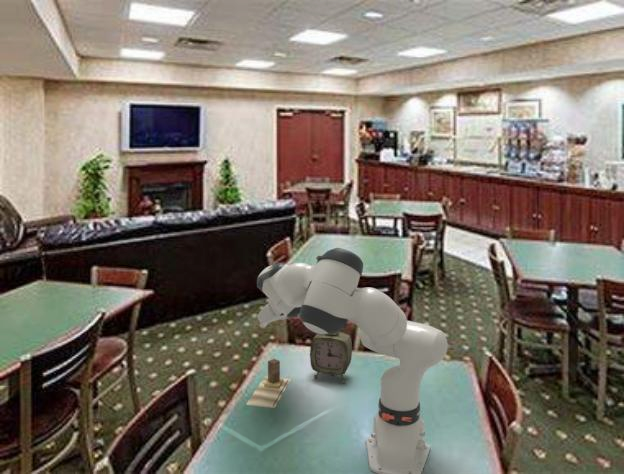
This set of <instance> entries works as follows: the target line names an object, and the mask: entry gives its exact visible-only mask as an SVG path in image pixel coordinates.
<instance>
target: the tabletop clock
mask: <svg viewBox="0 0 624 474" xmlns="http://www.w3.org/2000/svg"><path fill="white" fill-rule="evenodd" d="M352 357H353V343H352V337H351V336H350V334H347V333H345V332H341V331H338V332H336V333H334V334H330V335H328V334H318V333H315V335H314V337H313V338H312V340H311V344H310V351H309V359H310V366H311V369H312V370H313V371H314V372H316V374H314V375H313V379H314V380H317V379H318V378H319V374H323V375H329V376H331V377H333V376H340V378H341V380H340V381H341V383H342V384H345V383H346V379H345V378H344V375H345V374H346V373H347V370H348V368H349V367H350V365H351V363H352Z"/></svg>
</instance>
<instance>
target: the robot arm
mask: <svg viewBox="0 0 624 474" xmlns="http://www.w3.org/2000/svg"><path fill="white" fill-rule="evenodd" d="M363 271H364V262H363V260H362V258H361V257H360V256H359V255H357V254H356V253H355V252H354V251H352V250H349V249H347V248H341V247H335V248H332V249H329V250H327V251H326V252H325V253H324V254H322V255H317V256H316V263H315V264H313V265H312V264H311V265H310V264H308V263H305V262H295V263H291V264H286V263H284V262H281V261H280V262H278V263H277V262H276V264H275V263H274V264H272V265H269V266H267V267H265V268H264V269H263V270H262V271H261V272H260V273H259V275H258V276H257V278H256V288H257V289H259V290H260V291H261V292H262V293H263V294H265V296H266V297H267V298H268V303H267V304H266V305H265V306H264V307H262V309H261V310H260V311H259V313H258V314H257V316H256V317H257V320H258V321H259V323H260V326H261V327H262V328H263V327H266V326H267V325H269V324H270V323H273V322H275V321H278V320H281V321H284V320H286V319H287V318H291V319H292V318H294V319H296V318H299V320H300V321H301V322H300V323H301V324H303V325H304V326H305V327H306V328H307V329H308V330H309V331H311V332H313V333H315V334H317V333H318V334H328V335H330V334H334V333H336V332H338V331H339V332H341V330H343V329H345V330H347V329H348V328H349V326H350V325H349V324H348V322H351V323H353V324H354V325H356V326H357V327H358V329H359V338H360V342H361V344H362V346H363V347H365V348H367V349H369V350H371V351H373V352H375V353H377V354H381V355H385V356H389V357H392V358H396V359H399V364H398V365H395V366H392V367H389V368H388V369H386V370H385V371H384V372H383V373H382V376H381V378H380V379H381V381H380V398H379V400H378V405H377V406H378V412H377V413H376V414H375V415H374V416H373V423H372V426H373V427H372V433H371V435H370V436H367V437H366V439H365V446H366V453H367V460H368V465H369V470H370V471H372V472H373V473H376V474H421V473H422V474H423V471H424V469H423V468H425V465H426V462H427V459H428V457H429V454H430V452H431V445H429V443H427V442H425V439H424V438H425V435H426V431H425V421H424V420H423V419H422V418H421V403H420V390H421V383H422V380H423V377H424V375H425V374H426V372H427V371H428V370H429V369H430V368H431V367H434V366H436V365H437V364H440V363H441V362H442V361H443V360H444V358H445V357H446V354H447V352H448V340H447V336H446V334H445V333H444V332H443V330H441V329H438V328H436V327H434V326H431V325H428V324H425V323H421V322H415V321H412V320H407V316H406V314H405V312H404V311H403V310H402V309H401V308H400V306H399V305H398V304H397V303H396V302H395V301H394V300H393V299H392V298H391V297H390V296H389V295H387V294H385V293H384V292H383V291H381V290H379V289H377V288H376V287H375V288H374V287H369V286H368V287H361V288H360V289H358V290H357V288H358V285H359V281H360V277H362V275H363Z"/></svg>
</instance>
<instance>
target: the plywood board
mask: <svg viewBox="0 0 624 474" xmlns="http://www.w3.org/2000/svg"><path fill="white" fill-rule="evenodd" d="M282 378H283V383H282V385H281V386H280V388H270V387H264V383H265V382H266V380H267V379H268V375H266V376H264V377H263V378H262V380H261V382H260V383H259V384H258V386H257V388H256V389H255V390H254V392H253V393H252V395H251V397H250V398H249V399H248V400H247V402H246V404H245V405H246V406H252V407H253V406H254V407H261V408H267V409H269V408H271V409H275V408H276V406H277V405H278V403H279V401H280V399H281V398H282V396H283V394H284V392H285V390H286V388H288V387H287V386H288V385H289V383H290V381H291V380H292V379H291V378H285V377H282Z"/></svg>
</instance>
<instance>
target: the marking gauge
mask: <svg viewBox="0 0 624 474" xmlns="http://www.w3.org/2000/svg"><path fill="white" fill-rule="evenodd" d="M280 363H281V360H278V359H276V358H272V359H270V360H267V377H268V379H267V380H266V382H265V383H264V387H270V388H280V386H281V385H282V383H283V378H284V377H281V367H280V366H281V364H280Z"/></svg>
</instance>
